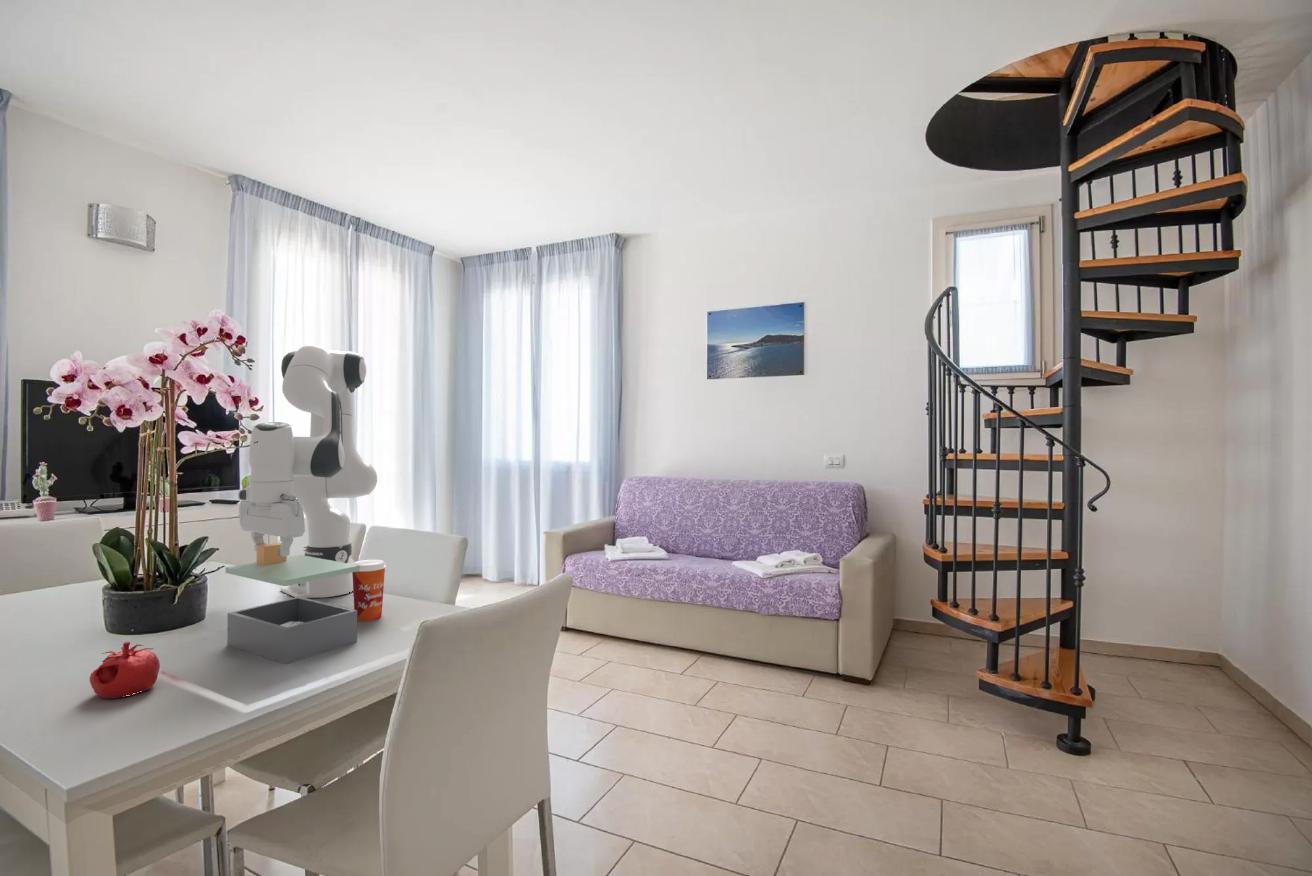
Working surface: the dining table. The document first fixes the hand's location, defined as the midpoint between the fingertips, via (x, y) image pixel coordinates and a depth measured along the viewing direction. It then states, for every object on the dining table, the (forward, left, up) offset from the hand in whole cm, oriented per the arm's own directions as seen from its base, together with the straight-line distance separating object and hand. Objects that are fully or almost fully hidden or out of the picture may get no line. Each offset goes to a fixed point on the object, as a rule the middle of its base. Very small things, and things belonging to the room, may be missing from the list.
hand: (271, 553), depth 143 cm
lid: (+9, 0, -3) cm, 9 cm away
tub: (+9, 0, -20) cm, 22 cm away
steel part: (+5, +2, -19) cm, 20 cm away
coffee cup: (+6, +21, -20) cm, 30 cm away
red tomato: (+6, -29, -20) cm, 36 cm away
